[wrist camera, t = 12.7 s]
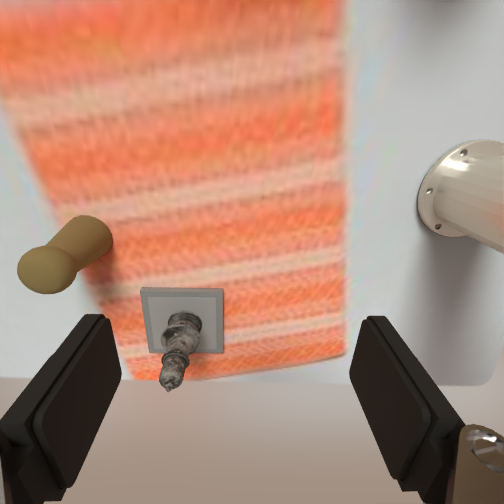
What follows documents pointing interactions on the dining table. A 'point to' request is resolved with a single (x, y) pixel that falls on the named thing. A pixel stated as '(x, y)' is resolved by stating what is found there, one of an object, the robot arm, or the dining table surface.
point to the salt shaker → (179, 347)
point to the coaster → (188, 299)
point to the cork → (64, 255)
